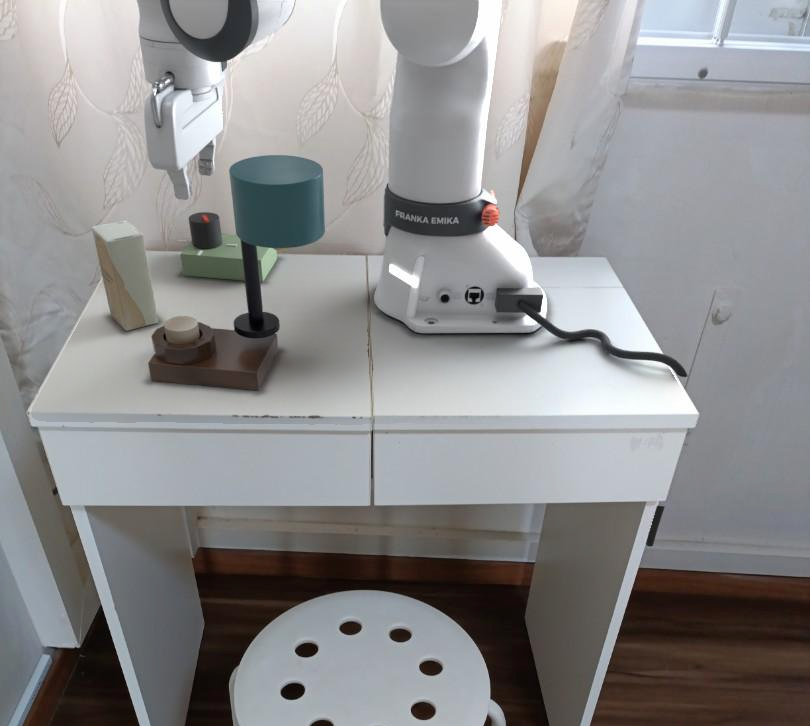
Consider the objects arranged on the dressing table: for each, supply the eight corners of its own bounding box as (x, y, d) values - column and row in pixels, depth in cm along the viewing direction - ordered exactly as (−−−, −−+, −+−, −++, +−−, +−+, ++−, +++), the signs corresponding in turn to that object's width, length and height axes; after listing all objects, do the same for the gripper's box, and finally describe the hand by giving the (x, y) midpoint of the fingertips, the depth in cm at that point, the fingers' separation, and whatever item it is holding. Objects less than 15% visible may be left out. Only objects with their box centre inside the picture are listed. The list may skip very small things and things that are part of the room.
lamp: (335, 315, 91) (330, 158, 80) (319, 353, 85) (312, 187, 73) (246, 308, 92) (229, 151, 81) (223, 345, 85) (201, 179, 74)
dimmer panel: (277, 258, 113) (275, 236, 111) (262, 282, 107) (260, 259, 105) (191, 251, 114) (187, 229, 112) (171, 275, 108) (167, 251, 106)
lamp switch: (204, 331, 88) (202, 317, 87) (194, 347, 86) (191, 332, 85) (172, 329, 89) (170, 314, 87) (161, 344, 86) (158, 329, 85)
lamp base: (278, 350, 93) (275, 319, 90) (258, 390, 86) (255, 357, 84) (176, 341, 94) (171, 310, 91) (149, 380, 87) (142, 347, 84)
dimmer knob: (189, 239, 109) (185, 211, 107) (218, 236, 110) (215, 208, 108) (195, 250, 106) (191, 222, 104) (225, 247, 108) (221, 218, 105)
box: (110, 315, 98) (89, 225, 91) (143, 307, 100) (125, 218, 93) (126, 332, 95) (106, 240, 88) (160, 323, 97) (143, 232, 90)
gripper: (178, 87, 86) (194, 216, 96) (232, 49, 102) (241, 164, 111) (122, 81, 87) (143, 211, 96) (183, 45, 102) (196, 159, 111)
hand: (196, 185), depth 103 cm, fingers open, 8 cm apart
